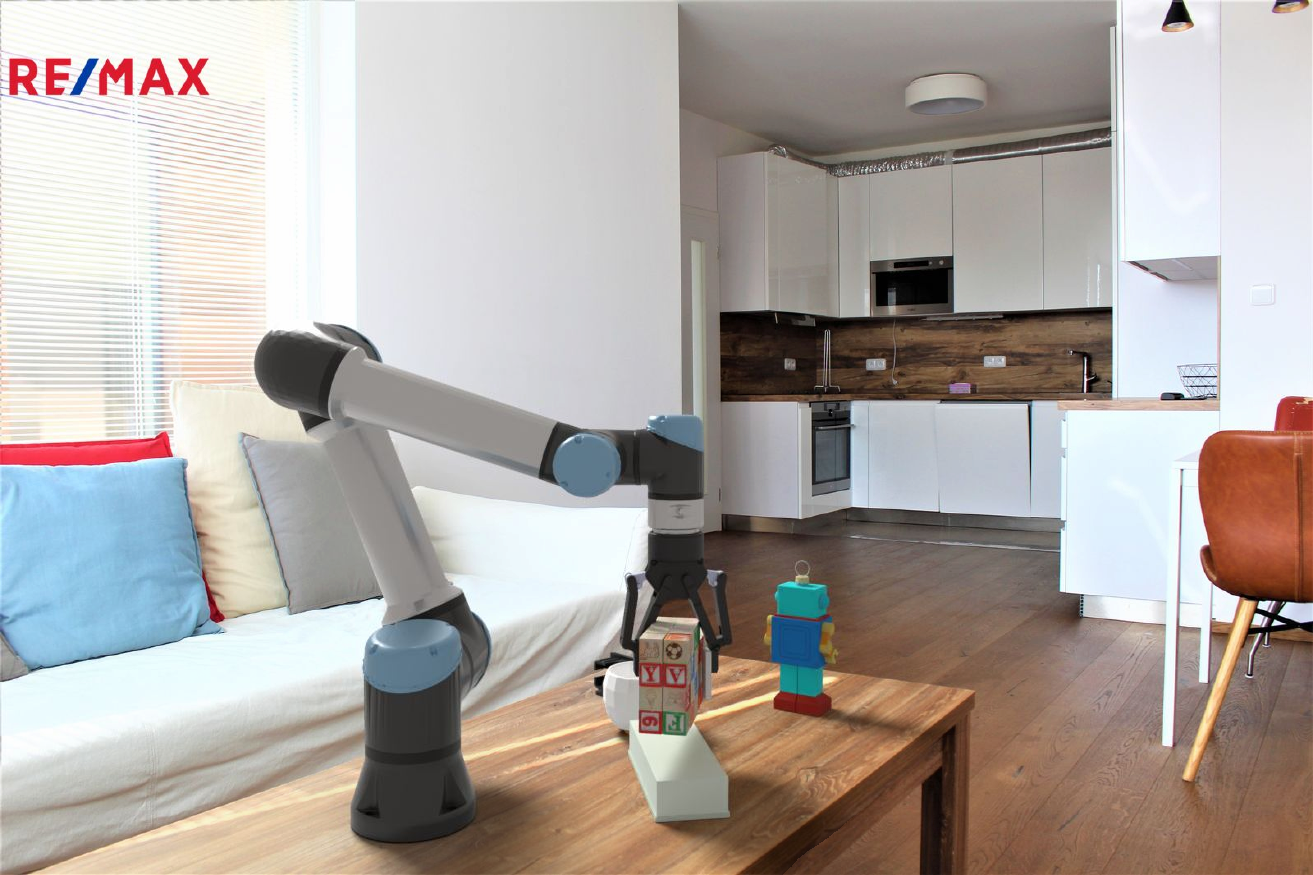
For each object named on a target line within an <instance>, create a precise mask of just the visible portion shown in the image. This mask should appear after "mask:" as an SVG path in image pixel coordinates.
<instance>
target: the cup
mask: <svg viewBox="0 0 1313 875" xmlns="http://www.w3.org/2000/svg"><path fill="white" fill-rule="evenodd" d="M605 674H606V675H605ZM605 674H604V675H605V679H604V682H603V697H602V699H603V704H604V706H605V710H606V713H607V716H608V718H609V719H610V721H611V722H612V723H613V726H615V727H617V728H618V729H621V730H624V733H625V734H627V735H629V731H630V720H639V677H636V676H635V674H634V671H633V661H628V662H622V663H617V664H615V665H612V666H610V667H609V668H608V670H607V669H606V672H605Z"/></svg>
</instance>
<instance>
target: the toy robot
mask: <svg viewBox="0 0 1313 875" xmlns="http://www.w3.org/2000/svg"><path fill="white" fill-rule="evenodd" d="M800 562H801V560H799V561H798V562H796V563H795V566H794V568H795V569H794V570H795V572H796V574H797V575H796V576H795V581H787V582H784V583H781V584H779V585H777V591H776V592H775V593H774V599H775V601H776V602H777V612H776V613H774V614H769V615H768V616H767V618H766V626H767V628H766V632H765V634H764V636H763V641H764V644H765V645H767V646H768V647H769V652H770V661H771V662H772V663H777V664H779V691H778V692H777V694H776V695H775V696H774V697H773V709H775V710H780V711H781V710H782V711H787V712H792V713H798V714H802V715H806V716H807V715H808V716H813V717H820V716H821V715H823V714H825V713H826V712H827V711H829V710H831V709H832V708H833V707H832V704H833V703H832V701H833V700H832V699H833V698H832V696H830V695H828V694H827V693H824V667H825V666H826V665H828V664H833V665H834V664H835V665H836V663H837V660H836V658H835V657H837V656H838V655H839V652H838V651H839V650H838V649H837V648H834V647H833V635H834V634H835V629H836V628H835V624H834V623H835V622H834V623H833V616H831V614H830V613H827V608H828V607H829V606H830V602H831V601H830V598H829V596H828V595H827V593H828V592H827V591H828V590H827V588H828V587H827V585H825V584H815V583H810V577H809V576H808V574H809V573H810V570H811V569H810V564H809V563H808V562H807V561H806V560H803V562H804V563H805V564H807V566H808V572H807V573H806V574H800V573H798V571H797V565H798V564H799V563H800Z"/></svg>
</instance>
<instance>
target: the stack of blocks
mask: <svg viewBox="0 0 1313 875" xmlns="http://www.w3.org/2000/svg"><path fill="white" fill-rule="evenodd" d="M702 647H708V644H707V642H706V640H705V637H704V635H703V633H702V630H701V628H700V625H699V620H698V619H697V618H696V617H695V618H694V617H667V616H658V617H657V620H656V622H655V624H652V625H651V626H650V627H649V628H648V629H647V630H646V631H645V633H643V634H642V636H641V637H640V639H639V733H646V734H664V735H677V736H686V735H687V733H688V731H689V729H690V728H691V726H692V724H693V723H695V722H694V721H695V720H696V719H697V716H698V712H699V710H700V708H701V704H702V703H703V701H704V700H705V698H704V697H703V695H702Z"/></svg>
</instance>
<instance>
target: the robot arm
mask: <svg viewBox="0 0 1313 875" xmlns="http://www.w3.org/2000/svg"><path fill="white" fill-rule="evenodd" d="M253 369H254V375H255V379H256V380H257V382H258V383H257V384H258V386H259V387H260V389H261V390H262V392H263V393H264V394H265V395H266V397H267V398H268V399H270V400H271V401H272V402H273V403H275V404H276V405H278V406H280V407H282V408H285V409H288V410H290V411H291V410H292V411H296V412H297V414H298V416H299V418H300V421H301V423H302V426H303V428H304V431H305V434H306V435H307V436H309V437H310V438H313V439H315V440H317V441H319V442H320V443H322V444H323V447H324V450H325V453H326V454H327V457H328V460H329V462H330V464H331V467H332V470H333V473H334V475H335V477H336V481H337V483H338V485H339V488H340V490H341V492H342V496H343V498H344V500H345V502H346V505H347V508H348V511H349V513H350V515H351V518H352V520H353V524H354V525H355V528H356V531H357V533H358V536H359V538H360V541H361V544H362V545H363V548H364V551H365V553H366V555H367V558H368V561H369V564H370V566H371V568H372V571H373V573H374V575H375V579H376V581H377V583H378V587H379V588H380V592H381V594H382V596H383V600H384V602H385V604H386V611H385V612H384V615H383V617H382V619H381V628H378V629H376V630H375V631H374V632H373V633H372V634H371V635H370V636H369V637H368V639H367V640H366V643H365V646H364V655H363V659H362V667H361V668H362V674H363V703H364V704H363V706H364V712H363V713H364V717H363V718H364V761H363V765H362V768H361V770H360V774H359V778H358V781H357V782H356V786H355V789H354V792H353V796H352V800H351V802H350V827H351V828H352V830H353V831H354V832H355V833H356V834H358V835H360V836H361V837H365V838H367V839H371V840H374V841H381V842H386V843H387V842H388V843H410V842H421V841H427V840H428V841H429V840H432V839H436V838H440V837H444V836H446V835H447V836H448V835H449V834H452V833H455V832H457V831H459V830H462V829H463V828H464V827H466V826H467V825H469V824H470V823H471V822H472V821H473V820H474V818H475V816H476V814H477V813H476V812H477V811H476V810H477V806H476V805H477V796H476V792H475V791H476V790H475V788H474V785H473V782H472V780H471V779H472V778H471V776H470V774H469V770H468V768H467V765H466V762H465V759H464V756H463V750H462V702H463V701H464V699H465V698H466V697H467V696H468V695H469V694H470V692H471V691H472V690H473V689H475V688H476V687H477V685H479V684H480V682H481V681H482V680H483V678H484V676H485V675H486V672H487V670H488V667H489V664H490V661H491V658H492V651H493V650H492V649H493V648H492V645H493V644H492V638H491V634H490V631H489V628H488V627H487V625H486V623H485V622H484V620H483V619H482V618H481V617H480V616H479V615H478V614H477V613H476V612H474V611H472V610H471V608H470V605H469V602H468V600H467V598H466V595H465V592H464V591H463V589H462V588H461V587H459V586H456V585H453V584H451V583H449V581H448V580H447V577H446V575H445V572H444V570H443V568H442V564H441V562H440V560H439V557H438V555H437V552H436V549H435V547H434V545H433V544H434V543H433V541H432V539H431V537H430V534H429V532H428V530H427V527H426V524H425V521H424V520H423V516H422V514H421V511H420V509H419V507H418V504H417V502H416V498H415V496H414V493H413V492H412V488H411V486H410V484H409V481H408V478H407V476H406V473H405V470H404V467H403V466H402V462H401V460H400V459H399V455H398V453H397V450H396V448H395V446H394V443H393V441H392V437H391V436H390V435H391V434H390V433H389V431H391V432H395V433H398V434H401V435H404V436H407V437H408V438H409V437H410V438H412V439H416V440H419V441H421V442H425V443H428V444H432V445H433V446H437V447H440V448H443V449H446V450H449V451H452V452H455V453H459V454H462V455H465V456H467V457H471V458H474V459H477V460H479V461H483V462H485V463H486V462H487V463H489V464H492V465H495V466H499V467H502V468H505V469H508V470H511V471H514V472H516V473H519V474H523V475H526V476H528V477H533V478H535V479H538V480H541V481H543V482H546V483H547V484H548V483H549V484H551V485H554V486H557V487H561V488H562V489H563V490H564V491H565V492H566V493H568V494H570V495H572V496H574V497H579V498H585V499H587V498H589V499H590V498H596V497H598V496H600V495H602V494H604V493H607V491H609V490H610V489H611V488H612V487H613V486H647V526H648V527H649V528H650V529H651V530H649V532H648V533H647V563H646V566H645V568H644V570H643V571H640V572H635V573H632V572H627V573H626V574H625V575H624V581H625V586H626V596H625V602H624V610H623V616H622V621H621V628H620V634H619V644H620V646H621V647H622V649H623V650H627V651H630V652H632V655H633V656H632V657H633V671H634V674H635V676H636V677H639V639H640V637H641V636H642V634H643V633H645V631H646V630H647V629H648V628H649V627H650V626H651V625H652V624H655V622H656V620H657V617H659V615H660V613H661V609H662V608H663V607H664V605H665V602H666V601H674V600H676V599H678V600H682V601H686V600H687V601H688V602H689V604H690V606H691V608H692V610H693V613H694V615H695V618H697V619H698V620H699V625H700V628H701V630H702V633H703V635H704V637H705V640H706V642H707V644H708V647H702V695H703V697H704V700H705V701H711V700H712V674H718V672H719V669H720V668H719V667H720V666H719V665H720V664H719V663H720V661H719V658H720V657H719V654H720V650H721V648H722V647H725V646H731V644H732V643H733V636H732V630H731V629H732V628H731V623H730V621H731V620H730V615H729V609H728V603H727V597H726V585H727V582H728V581H727V580H728V575H727V574H726V573H725V572H724V571H723V570H721V569H717V570H713V569H708V568H707V566H706V564H705V534H704V533H703V531H702V530H700V529H702V528H703V526H705V518H704V517H705V516H704V514H705V512H704V511H705V510H704V507H705V506H704V496H705V495H704V492H705V491H704V490H705V486H704V484H705V478H704V477H705V443H704V442H705V440H704V423H703V420H702V419H701V418H700V417H699V416H697V415H694V414H652V415H650V416H648V418H647V424H646V428H641V429H604V428H603V429H602V428H601V429H599V428H597V429H593V428H592V429H591V428H581V427H579V426H578V427H577V426H575V425H572V424H568V423H566V422H565V423H564V422H561V421H559V420H556V419H553V418H549V417H547V416H543V415H540V414H538V413H534V412H531V411H528V410H525V409H524V408H523V409H522V408H519V407H516V406H514V405H510V404H507V403H504V402H501V401H498V400H495V399H492V398H489V397H486V396H483V395H479V394H477V393H474V392H470V391H468V390H465V389H461V388H459V387H455V386H453V385H450V384H448V383H447V384H446V383H444V382H441V381H437V380H435V379H432V378H428V377H426V376H423V375H420V374H416V373H414V372H411V371H407V370H404V369H401V368H398V367H395V366H392V365H389V364H386V363H384V362H383V358H382V356H381V354H380V352H379V350H378V348H377V347H376V345H375V344H374V343H373V342H372V340H370V338H368V337H366V336H365V335H364V334H362V333H361V332H359V331H357V330H356V329H354V328H352V327H350V326H346V325H343V324H335V323H323V322H317V321H315V320H308V319H293V320H290V321H285V322H283V323H281V324H278V325H276V326H275V327H273V328H272V329H271V330H269V331H268V332H267V333H266V334H265V335H264V336H263V338H262V339H261V341H260V343H259V344H258V345H257V348H256V351H255V354H254V360H253ZM706 578H707V579H708V584H709V586H711V587H712V589H711V590H712V596H713V603H714V608H715V610H714V611H715V616H716V622H717V628H718V629H717V630H718V634H719V635H717V636H716V633H715V631H714V629H713V626H712V624H711V621H710V619H709V617H708V614H707V612H706V609H705V607H704V604H703V602H702V599H701V596H700V594H699V592H698V590H699V588H700V587H701V586H702V584H703V583H704V582H705V580H706ZM645 581H647V582H648V584H649V585H650V586H651V587H652V589H653V591H652V593H651V595H650V600H649V603H648V606H647V608H646V610H645V613H644V616H643V618H642V621H641V622H640V626H639V628H638V631H637V633H636V635H635V638H634V639H633V634H634V628H635V627H634V626H635V620H636V615H637V613H636V612H637V608H638V607H637V606H638V601H639V590H641V589H643V588H642V587H643V584H644V582H645Z"/></svg>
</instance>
